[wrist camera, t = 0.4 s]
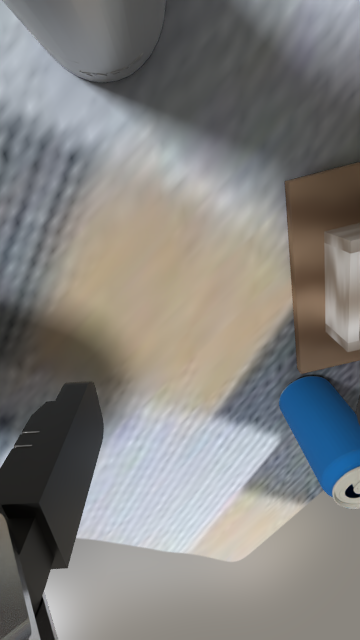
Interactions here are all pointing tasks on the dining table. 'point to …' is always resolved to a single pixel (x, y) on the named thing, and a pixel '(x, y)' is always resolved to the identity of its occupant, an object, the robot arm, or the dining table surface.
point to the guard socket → (325, 266)
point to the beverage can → (326, 436)
